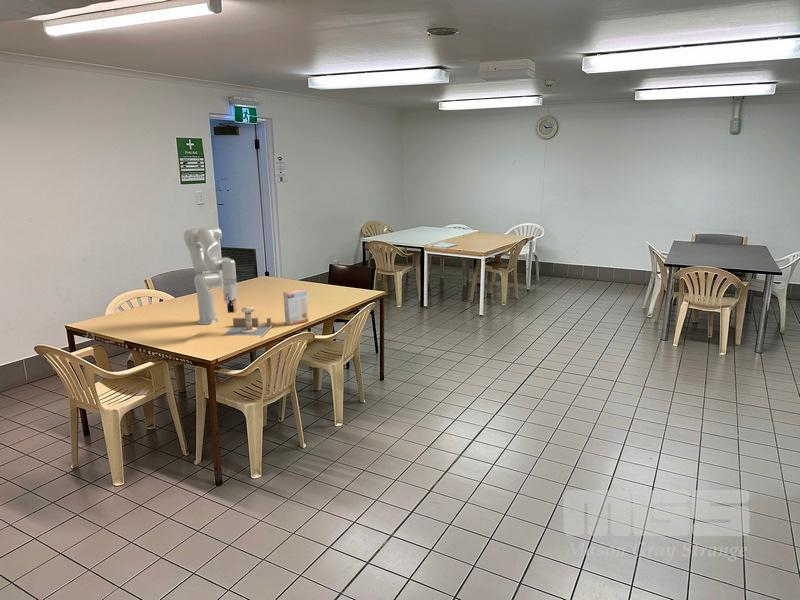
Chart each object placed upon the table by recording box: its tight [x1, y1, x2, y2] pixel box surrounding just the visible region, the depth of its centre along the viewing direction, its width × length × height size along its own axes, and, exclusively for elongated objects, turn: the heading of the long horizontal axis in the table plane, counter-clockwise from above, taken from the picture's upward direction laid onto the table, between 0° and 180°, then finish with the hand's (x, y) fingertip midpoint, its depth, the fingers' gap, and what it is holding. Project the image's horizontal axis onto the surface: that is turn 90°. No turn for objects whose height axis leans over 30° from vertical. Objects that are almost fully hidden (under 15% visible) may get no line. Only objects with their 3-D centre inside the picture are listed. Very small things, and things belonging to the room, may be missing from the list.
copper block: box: [227, 299, 238, 314], centre depth 319 cm, size 4×4×7 cm
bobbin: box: [241, 306, 257, 334], centre depth 321 cm, size 9×9×14 cm
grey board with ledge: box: [223, 317, 273, 339], centre depth 324 cm, size 20×23×6 cm
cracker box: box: [282, 288, 309, 326], centre depth 342 cm, size 14×6×21 cm, turn 131°
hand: (232, 310), depth 319 cm, fingers closed on copper block, 4 cm apart
